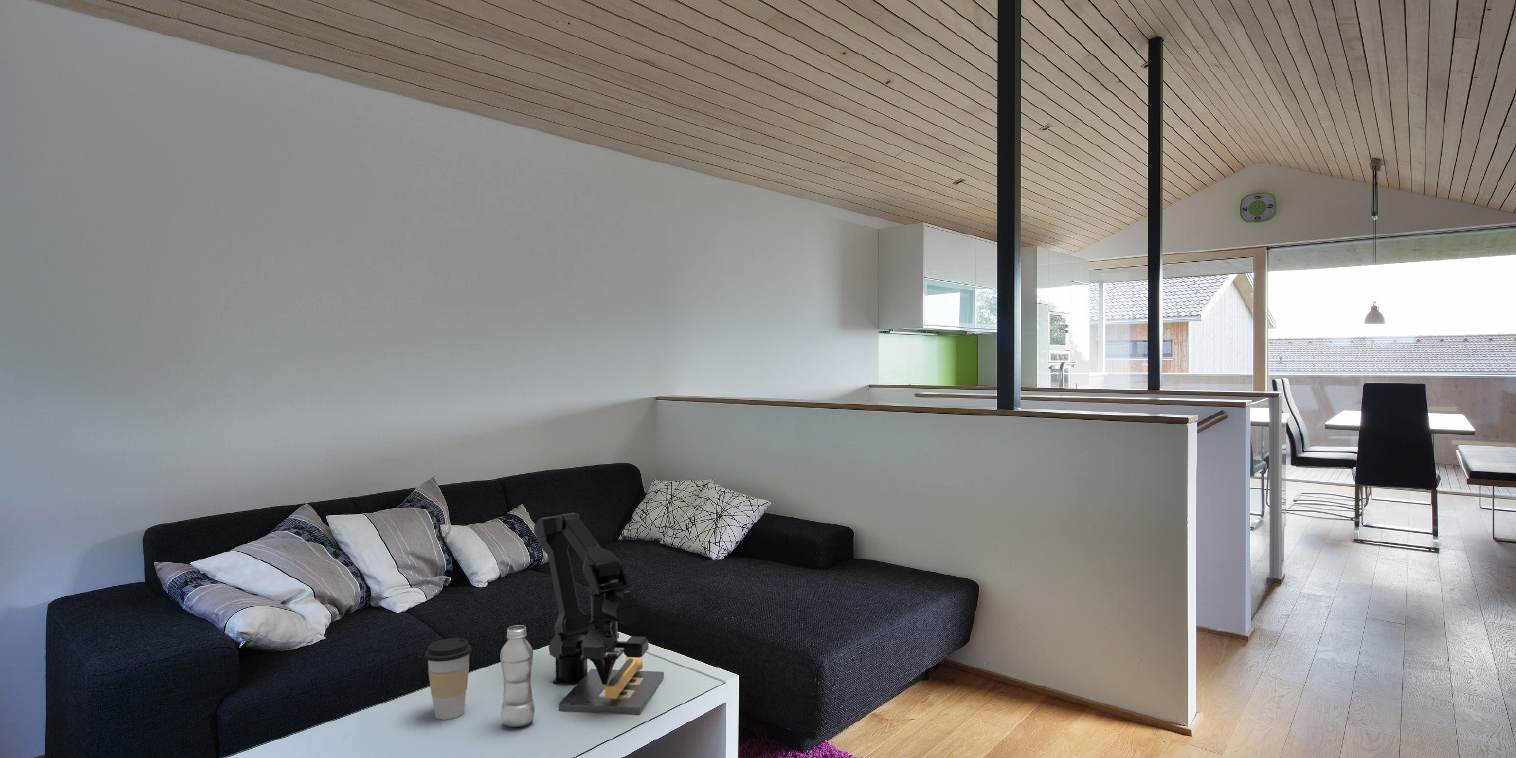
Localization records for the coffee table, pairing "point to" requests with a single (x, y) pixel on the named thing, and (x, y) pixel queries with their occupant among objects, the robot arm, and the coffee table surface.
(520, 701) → the plastic bottle
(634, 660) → the bar
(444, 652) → the coffee cup
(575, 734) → the coffee table surface
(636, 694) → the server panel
